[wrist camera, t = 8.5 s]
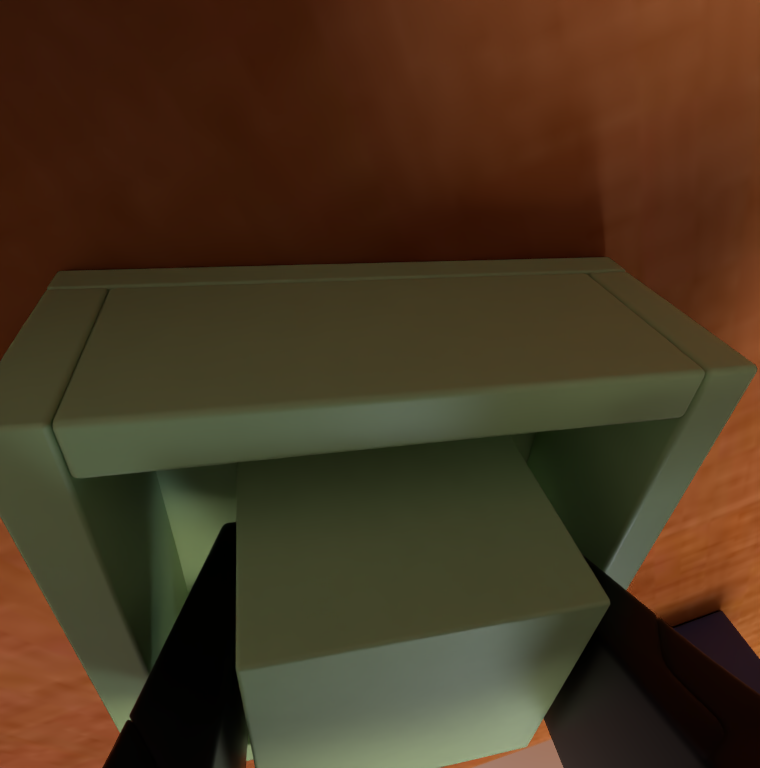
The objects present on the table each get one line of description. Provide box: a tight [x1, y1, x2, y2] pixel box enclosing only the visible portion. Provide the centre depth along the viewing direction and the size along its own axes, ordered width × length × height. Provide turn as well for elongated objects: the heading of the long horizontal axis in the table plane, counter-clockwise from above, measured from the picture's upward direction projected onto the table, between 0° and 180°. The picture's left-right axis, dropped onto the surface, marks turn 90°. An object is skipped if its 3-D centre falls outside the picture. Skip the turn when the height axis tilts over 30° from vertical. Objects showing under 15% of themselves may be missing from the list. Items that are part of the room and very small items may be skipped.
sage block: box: [236, 435, 610, 768], centre depth 9 cm, size 4×4×4 cm
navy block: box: [673, 611, 760, 694], centre depth 20 cm, size 4×4×4 cm
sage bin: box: [0, 257, 757, 761], centre depth 10 cm, size 9×9×4 cm
